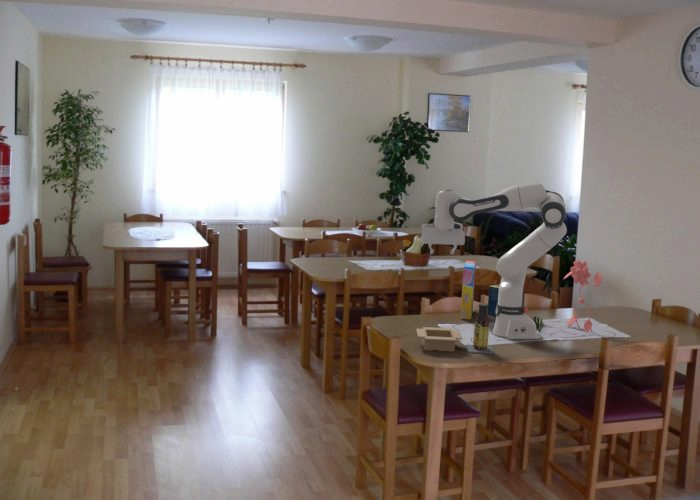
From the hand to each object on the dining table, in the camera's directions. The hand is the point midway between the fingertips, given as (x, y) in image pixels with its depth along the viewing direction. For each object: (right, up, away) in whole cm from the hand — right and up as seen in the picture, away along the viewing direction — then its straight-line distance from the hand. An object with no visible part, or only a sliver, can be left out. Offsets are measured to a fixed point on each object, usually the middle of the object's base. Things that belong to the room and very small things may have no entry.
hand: (442, 253), depth 348 cm
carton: (-4, -41, -21) cm, 46 cm away
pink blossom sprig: (+67, -38, +17) cm, 79 cm away
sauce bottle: (+14, -41, -23) cm, 49 cm away
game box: (+18, -32, +40) cm, 54 cm away
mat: (+14, -42, -23) cm, 50 cm away
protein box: (+38, -33, +40) cm, 64 cm away
